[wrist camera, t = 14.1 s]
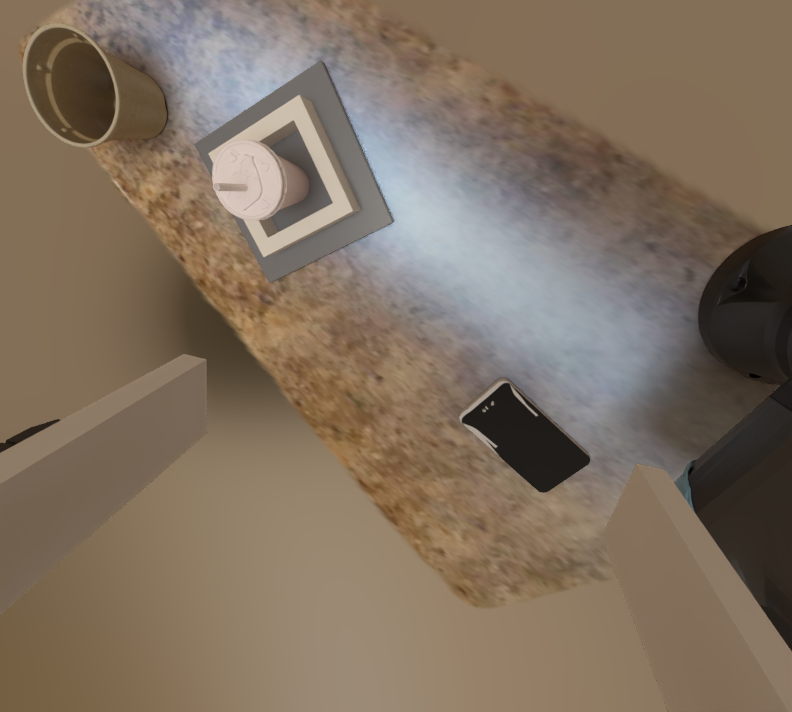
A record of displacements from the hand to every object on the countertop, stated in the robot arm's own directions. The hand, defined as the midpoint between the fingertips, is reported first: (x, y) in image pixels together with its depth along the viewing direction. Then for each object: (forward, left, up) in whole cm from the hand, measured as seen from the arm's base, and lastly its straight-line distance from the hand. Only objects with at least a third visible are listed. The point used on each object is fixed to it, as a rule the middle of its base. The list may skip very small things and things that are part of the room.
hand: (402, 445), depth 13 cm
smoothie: (+15, +12, -34) cm, 39 cm away
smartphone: (-22, 0, -35) cm, 42 cm away
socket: (+15, +12, -35) cm, 40 cm away
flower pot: (+29, +24, -35) cm, 51 cm away
